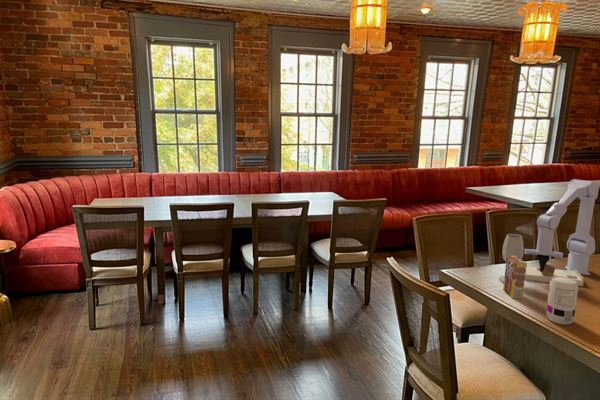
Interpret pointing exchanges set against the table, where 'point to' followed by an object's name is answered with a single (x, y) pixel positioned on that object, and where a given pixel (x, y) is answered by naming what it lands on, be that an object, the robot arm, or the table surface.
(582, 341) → the table surface
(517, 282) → the candy box
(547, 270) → the block
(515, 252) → the wineglass
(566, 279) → the supplement can
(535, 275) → the beige flat block
